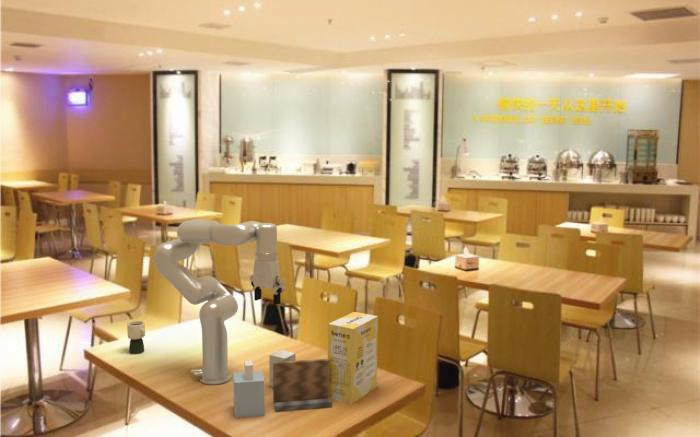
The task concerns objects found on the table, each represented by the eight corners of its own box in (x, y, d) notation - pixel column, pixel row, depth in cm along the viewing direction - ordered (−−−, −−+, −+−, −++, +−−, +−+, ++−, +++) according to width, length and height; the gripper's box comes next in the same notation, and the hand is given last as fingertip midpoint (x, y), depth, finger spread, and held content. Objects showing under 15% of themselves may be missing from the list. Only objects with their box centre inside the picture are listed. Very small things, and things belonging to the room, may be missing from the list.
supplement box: (284, 390, 241) (284, 358, 239) (268, 386, 244) (268, 354, 243) (296, 384, 247) (296, 352, 245) (280, 379, 251) (280, 348, 249)
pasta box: (352, 381, 251) (354, 311, 247) (376, 386, 245) (378, 316, 241) (327, 397, 235) (328, 323, 231) (352, 404, 230) (353, 328, 226)
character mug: (151, 352, 279) (151, 323, 277) (138, 356, 273) (137, 327, 271) (135, 347, 284) (134, 318, 282) (121, 351, 278) (120, 322, 276)
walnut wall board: (275, 411, 223) (275, 370, 221) (273, 402, 230) (273, 362, 228) (332, 407, 227) (332, 366, 225) (327, 397, 235) (328, 358, 233)
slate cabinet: (234, 417, 218) (234, 368, 215) (233, 406, 227) (233, 359, 224) (264, 415, 220) (264, 366, 217) (262, 404, 229) (262, 357, 226)
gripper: (242, 255, 238) (243, 300, 240) (277, 261, 228) (277, 308, 230) (257, 252, 244) (257, 296, 246) (291, 258, 234) (291, 303, 236)
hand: (267, 301), depth 238 cm, fingers open, 9 cm apart
